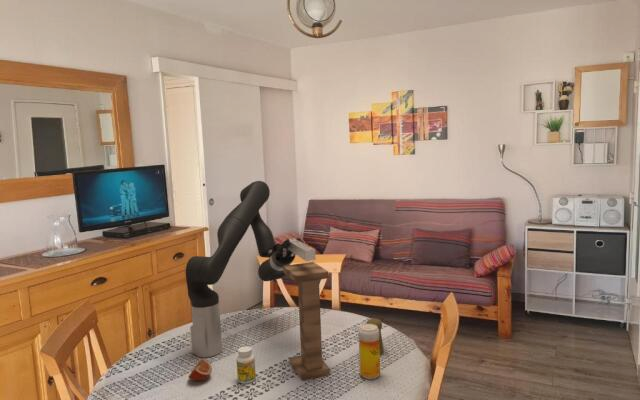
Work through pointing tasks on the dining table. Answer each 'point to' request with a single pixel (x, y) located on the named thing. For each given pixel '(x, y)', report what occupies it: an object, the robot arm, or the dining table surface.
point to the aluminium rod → (301, 250)
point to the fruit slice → (201, 370)
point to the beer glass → (369, 351)
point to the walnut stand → (308, 320)
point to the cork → (379, 325)
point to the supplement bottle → (245, 365)
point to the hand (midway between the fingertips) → (294, 241)
